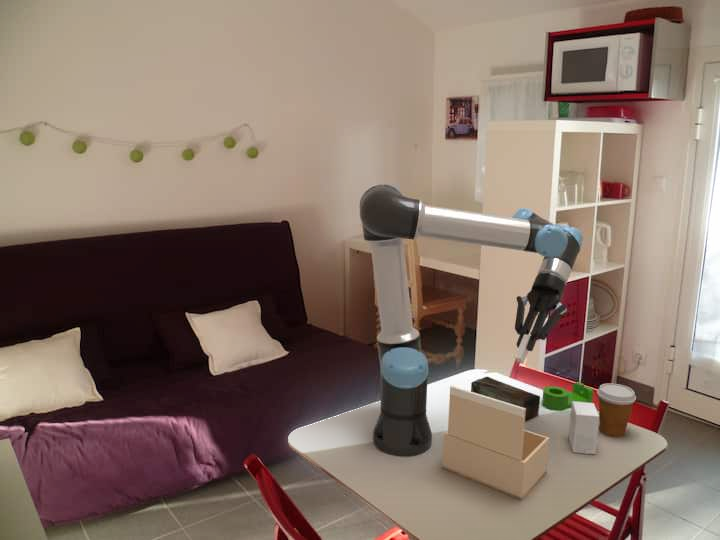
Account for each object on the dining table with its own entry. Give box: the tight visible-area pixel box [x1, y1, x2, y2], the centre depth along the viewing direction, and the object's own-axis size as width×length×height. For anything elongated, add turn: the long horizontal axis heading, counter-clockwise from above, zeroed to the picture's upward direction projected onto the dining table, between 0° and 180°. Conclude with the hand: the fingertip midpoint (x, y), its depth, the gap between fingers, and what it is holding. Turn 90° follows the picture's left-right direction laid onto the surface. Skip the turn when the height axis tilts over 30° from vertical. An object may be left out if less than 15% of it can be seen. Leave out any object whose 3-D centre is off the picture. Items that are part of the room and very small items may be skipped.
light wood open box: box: [441, 429, 550, 501], centre depth 142 cm, size 20×14×9 cm
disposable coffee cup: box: [596, 382, 637, 438], centre depth 161 cm, size 10×10×12 cm
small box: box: [568, 401, 600, 455], centre depth 153 cm, size 8×6×10 cm
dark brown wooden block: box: [470, 376, 541, 422], centre depth 175 cm, size 8×19×7 cm, turn 40°
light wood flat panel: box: [447, 385, 526, 461], centre depth 134 cm, size 18×1×12 cm, turn 52°
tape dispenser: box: [541, 381, 594, 412], centre depth 178 cm, size 15×7×5 cm, turn 115°
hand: (519, 360), depth 145 cm, fingers closed
